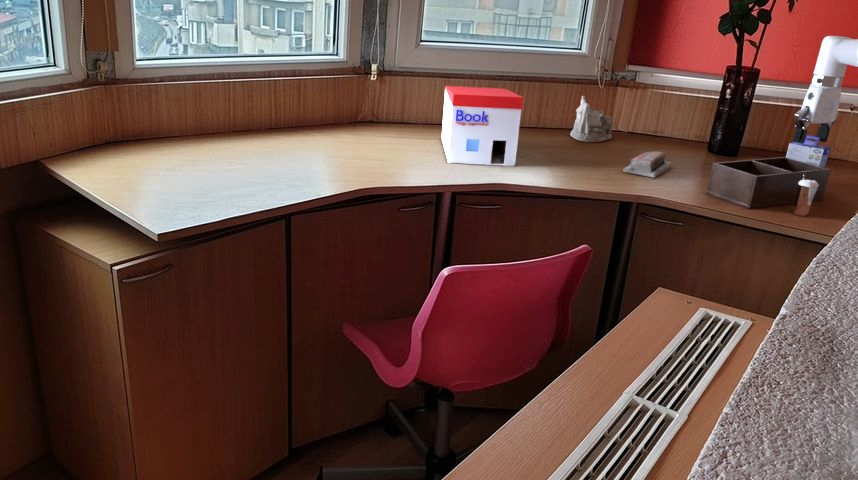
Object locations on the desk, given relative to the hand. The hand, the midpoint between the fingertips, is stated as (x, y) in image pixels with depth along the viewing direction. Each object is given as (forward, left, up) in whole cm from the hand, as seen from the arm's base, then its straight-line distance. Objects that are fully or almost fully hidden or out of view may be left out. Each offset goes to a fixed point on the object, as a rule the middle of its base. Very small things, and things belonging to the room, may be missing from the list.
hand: (809, 141), depth 209 cm
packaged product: (+27, +34, -13) cm, 45 cm away
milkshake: (-21, +26, -13) cm, 36 cm away
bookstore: (+62, +75, -13) cm, 98 cm away
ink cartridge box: (0, 0, -13) cm, 13 cm away
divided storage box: (-6, +22, -13) cm, 26 cm away
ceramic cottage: (+71, +20, -13) cm, 75 cm away
